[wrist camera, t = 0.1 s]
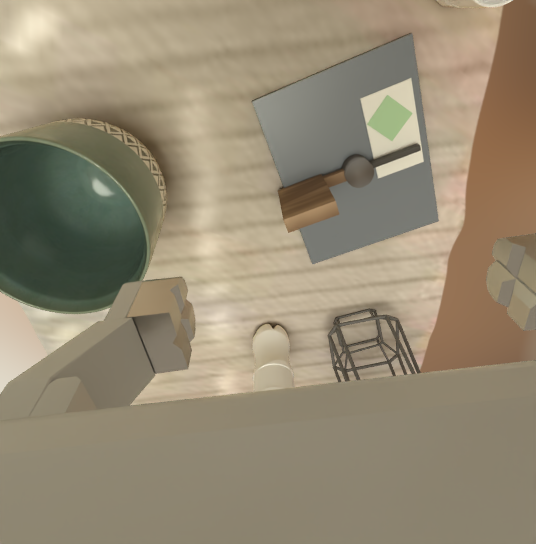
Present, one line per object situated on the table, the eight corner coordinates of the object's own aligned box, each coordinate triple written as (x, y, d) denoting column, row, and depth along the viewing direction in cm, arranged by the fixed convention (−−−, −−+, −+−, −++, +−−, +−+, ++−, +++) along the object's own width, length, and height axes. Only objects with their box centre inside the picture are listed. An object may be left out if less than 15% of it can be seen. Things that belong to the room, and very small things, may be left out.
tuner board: (252, 101, 51) (252, 102, 50) (409, 33, 48) (413, 33, 47) (311, 261, 65) (312, 265, 64) (436, 219, 62) (439, 222, 61)
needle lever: (275, 184, 56) (280, 213, 47) (413, 131, 53) (448, 151, 44) (284, 207, 58) (290, 239, 49) (417, 157, 55) (451, 181, 46)
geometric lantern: (394, 289, 70) (504, 478, 40) (397, 347, 78) (490, 537, 49) (312, 308, 71) (362, 503, 42) (324, 362, 79) (373, 557, 50)
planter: (100, 249, 62) (39, 335, 44) (14, 137, 52) (-111, 189, 34) (204, 205, 59) (185, 278, 41) (133, 76, 49) (65, 97, 31)
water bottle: (289, 344, 76) (305, 462, 55) (255, 348, 76) (257, 467, 55) (285, 317, 72) (300, 432, 51) (249, 322, 72) (249, 439, 51)
